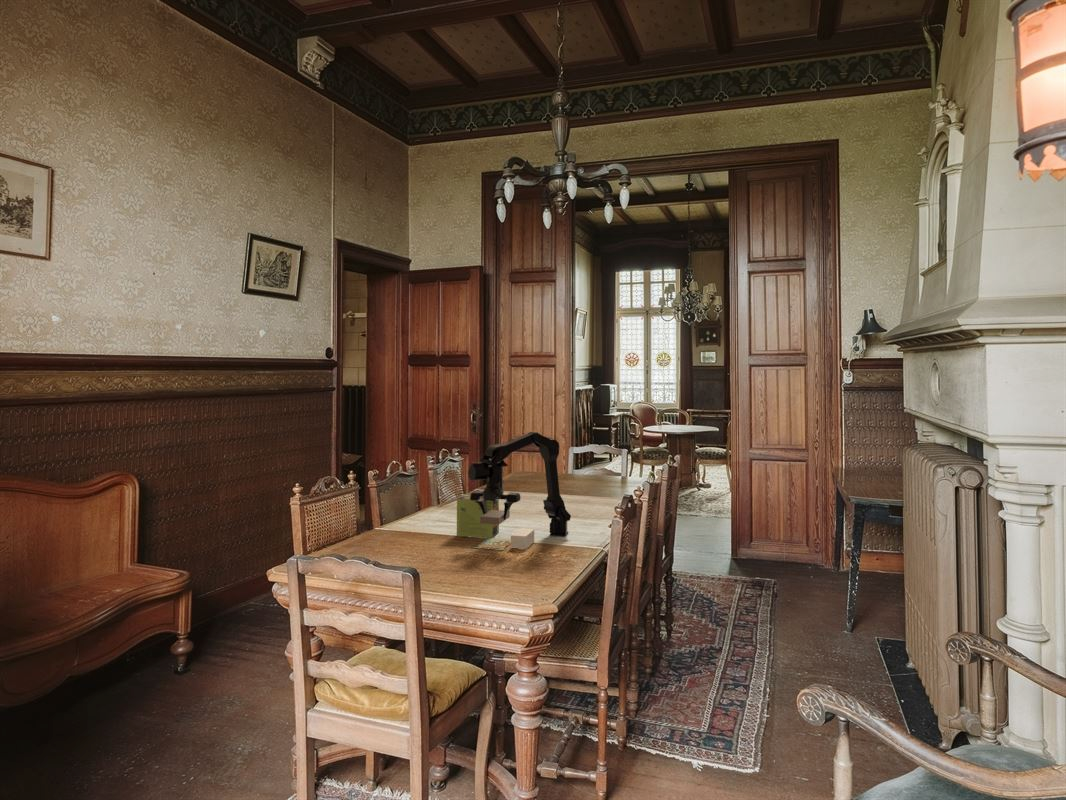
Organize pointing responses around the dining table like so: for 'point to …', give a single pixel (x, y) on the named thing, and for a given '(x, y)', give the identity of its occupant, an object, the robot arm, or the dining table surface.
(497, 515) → the lid
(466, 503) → the protein box
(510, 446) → the robot arm
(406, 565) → the dining table surface
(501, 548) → the mat
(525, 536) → the box
